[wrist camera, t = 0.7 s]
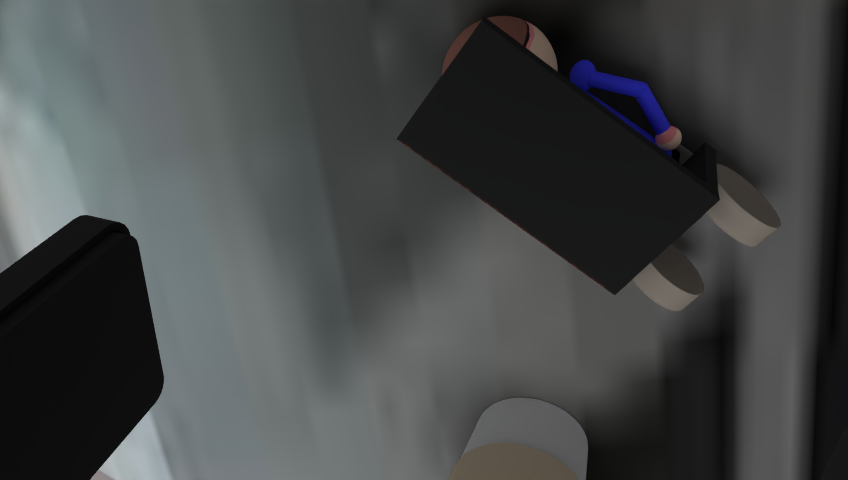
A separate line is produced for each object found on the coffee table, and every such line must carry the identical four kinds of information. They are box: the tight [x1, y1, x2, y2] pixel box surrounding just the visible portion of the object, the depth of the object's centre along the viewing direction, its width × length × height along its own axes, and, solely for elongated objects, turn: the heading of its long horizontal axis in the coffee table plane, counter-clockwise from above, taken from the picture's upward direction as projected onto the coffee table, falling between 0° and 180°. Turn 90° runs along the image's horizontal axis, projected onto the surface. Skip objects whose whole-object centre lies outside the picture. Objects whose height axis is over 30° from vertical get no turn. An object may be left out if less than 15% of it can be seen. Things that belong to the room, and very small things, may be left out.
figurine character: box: [397, 16, 781, 311], centre depth 33 cm, size 7×8×15 cm
